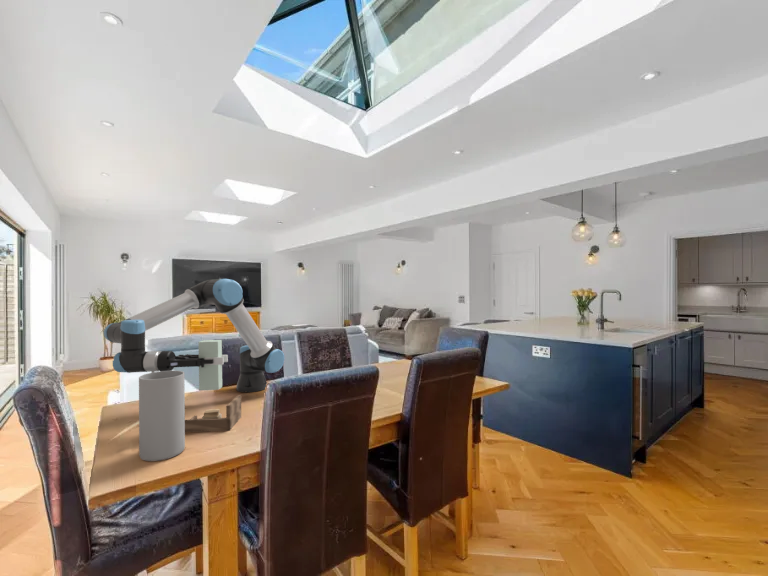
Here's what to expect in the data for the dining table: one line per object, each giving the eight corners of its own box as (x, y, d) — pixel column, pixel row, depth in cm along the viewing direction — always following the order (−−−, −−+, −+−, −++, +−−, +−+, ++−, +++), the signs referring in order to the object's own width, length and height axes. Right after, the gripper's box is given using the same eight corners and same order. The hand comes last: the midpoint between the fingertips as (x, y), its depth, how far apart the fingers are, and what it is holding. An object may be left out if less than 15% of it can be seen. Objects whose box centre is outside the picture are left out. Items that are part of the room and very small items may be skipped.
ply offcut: (205, 418, 148) (205, 413, 148) (221, 417, 149) (221, 413, 149) (201, 422, 144) (201, 417, 144) (217, 421, 145) (217, 416, 145)
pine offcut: (205, 414, 148) (205, 409, 148) (219, 413, 149) (219, 408, 149) (203, 417, 144) (203, 412, 144) (217, 416, 145) (217, 411, 145)
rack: (194, 421, 148) (194, 396, 148) (241, 420, 150) (241, 394, 150) (178, 435, 134) (177, 407, 134) (229, 433, 136) (229, 405, 136)
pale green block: (203, 387, 144) (202, 340, 143) (222, 386, 144) (221, 339, 144) (199, 390, 140) (198, 341, 139) (218, 389, 140) (217, 341, 140)
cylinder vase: (191, 452, 120) (190, 374, 120) (146, 466, 111) (146, 381, 111) (176, 442, 129) (176, 369, 129) (134, 454, 119) (133, 375, 119)
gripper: (171, 366, 149) (232, 364, 151) (148, 376, 132) (217, 374, 134) (171, 347, 149) (232, 346, 151) (148, 355, 132) (217, 353, 134)
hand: (225, 359), depth 142 cm, fingers closed on pale green block, 4 cm apart
